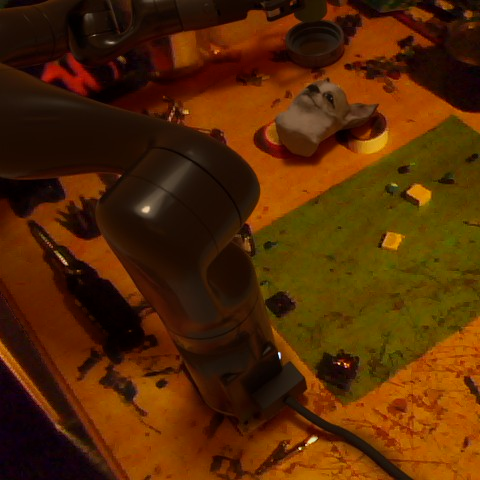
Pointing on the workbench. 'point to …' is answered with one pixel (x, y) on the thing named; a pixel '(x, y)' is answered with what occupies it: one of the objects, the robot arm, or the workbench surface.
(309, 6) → the green can
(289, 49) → the dark grey jar lid
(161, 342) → the workbench surface
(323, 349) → the workbench surface
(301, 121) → the ceramic sculpture
